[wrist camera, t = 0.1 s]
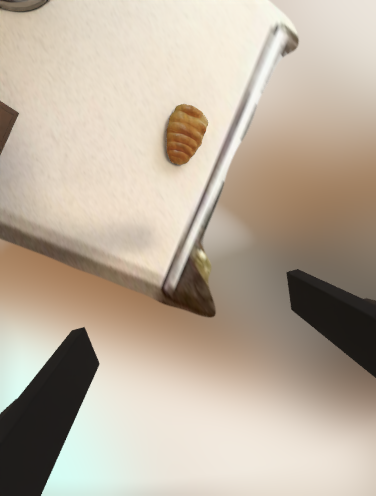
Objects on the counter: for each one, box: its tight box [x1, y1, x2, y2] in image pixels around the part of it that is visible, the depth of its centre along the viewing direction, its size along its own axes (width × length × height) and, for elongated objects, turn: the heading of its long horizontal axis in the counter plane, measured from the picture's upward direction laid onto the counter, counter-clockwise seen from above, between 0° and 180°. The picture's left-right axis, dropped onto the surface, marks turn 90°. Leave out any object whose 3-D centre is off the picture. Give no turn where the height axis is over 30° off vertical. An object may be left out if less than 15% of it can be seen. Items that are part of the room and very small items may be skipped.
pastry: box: [167, 104, 208, 165], centre depth 34 cm, size 9×7×4 cm
